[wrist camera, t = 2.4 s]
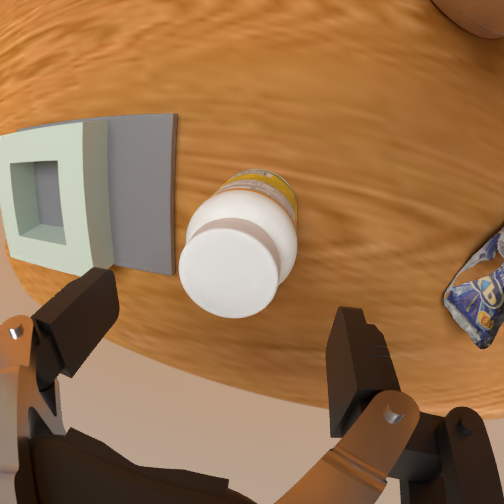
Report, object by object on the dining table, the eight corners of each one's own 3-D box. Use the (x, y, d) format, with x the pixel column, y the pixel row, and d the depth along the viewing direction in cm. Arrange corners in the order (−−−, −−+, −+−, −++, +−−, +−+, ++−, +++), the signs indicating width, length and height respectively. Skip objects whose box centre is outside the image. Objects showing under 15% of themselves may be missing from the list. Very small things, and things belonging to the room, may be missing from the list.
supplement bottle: (256, 151, 18) (221, 177, 10) (314, 208, 19) (327, 281, 11) (203, 206, 20) (139, 271, 12) (258, 257, 21) (232, 349, 13)
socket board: (22, 128, 19) (-7, 134, 16) (177, 113, 18) (152, 113, 14) (33, 243, 24) (10, 259, 21) (175, 271, 23) (156, 296, 20)
